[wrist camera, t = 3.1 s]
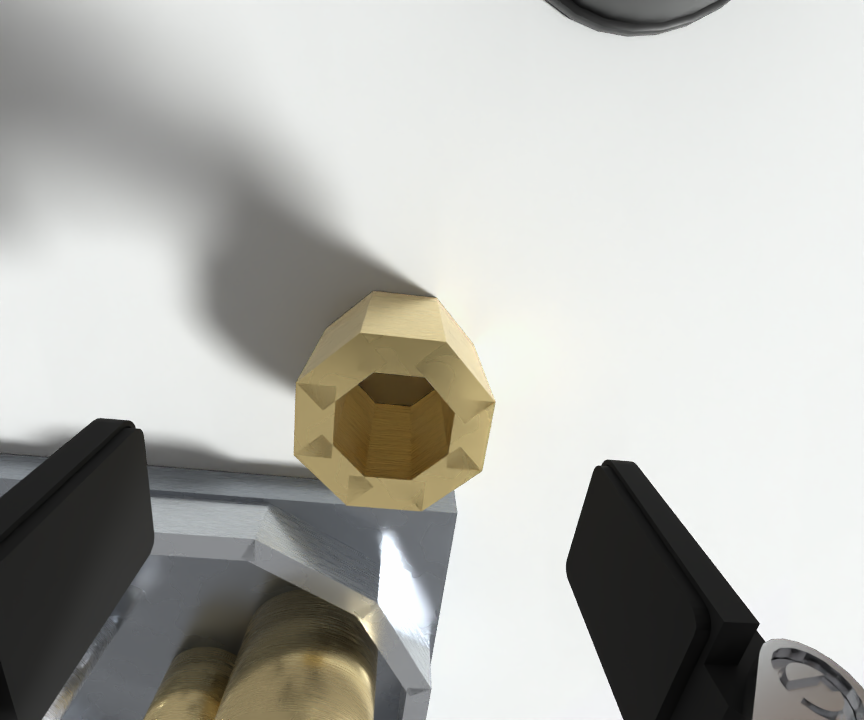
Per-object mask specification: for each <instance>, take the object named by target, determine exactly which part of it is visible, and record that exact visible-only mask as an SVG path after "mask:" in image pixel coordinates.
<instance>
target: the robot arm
mask: <svg viewBox="0 0 864 720" xmlns="http://www.w3.org/2000/svg"><path fill="white" fill-rule="evenodd" d="M153 544H154V526H153V516H152V507H151V498H150V488H149V479H148V470H147V460H146V451H145V442H144V435H143V432H142V430H141V429H136V428H135V425H134V424H133V422H131V421H128V420H116V419H104V418H99V419H96V420H94V421H93V422H91V423H90V424H89V425H88V426H87V427H85V428H84V429H83V430H82V431H80V432H79V433H78V434H77V435H76V436H74V437H73V438H72V439H71V440H70V441H68V442H67V443H66V444H65V445H63V446H62V447H61V448H60V449H59V450H57V451H56V452H55V453H54V454H53V455H51V456H50V457H49V458H48V459H46V460H45V461H44V462H43V463H42V464H40V465H39V466H38V467H37V468H35V469H34V470H33V471H32V472H31V473H29V474H28V475H27V476H26V477H25V478H23V479H22V480H21V481H20V482H18V483H17V484H16V485H15V486H14V487H12V488H11V489H10V490H9V491H8V492H6V493H5V494H4V495H3V496H1V497H0V720H42V719H43V717H44V716H45V714H46V713H47V711H48V710H49V708H50V707H51V705H52V703H53V702H54V700H55V699H56V697H57V696H58V694H59V693H60V691H61V690H62V688H63V687H64V685H65V684H66V682H67V681H68V679H69V677H70V676H71V674H72V673H73V671H74V670H75V668H76V667H77V665H78V664H79V662H80V661H81V659H82V658H83V656H84V654H85V653H86V651H87V650H88V648H89V647H90V645H91V644H92V642H93V641H94V639H95V638H96V636H97V635H98V633H99V632H100V630H101V628H102V627H103V625H104V624H105V622H106V621H107V619H108V618H109V616H110V615H111V613H112V612H113V610H114V609H115V607H116V606H117V604H118V602H119V601H120V599H121V598H122V596H123V595H124V593H125V592H126V590H127V589H128V587H129V586H130V584H131V583H132V581H133V579H134V578H135V576H136V575H137V573H138V572H139V570H140V569H141V567H142V566H143V564H144V563H145V561H146V560H147V558H148V557H149V555H150V553H151V551H152V548H153ZM566 573H567V578H568V581H569V583H570V586H571V588H572V591H573V593H574V596H575V598H576V601H577V603H578V606H579V608H580V611H581V614H582V616H583V619H584V621H585V624H586V626H587V629H588V631H589V634H590V636H591V639H592V641H593V644H594V646H595V649H596V651H597V654H598V657H599V659H600V662H601V664H602V667H603V669H604V672H605V674H606V677H607V679H608V682H609V684H610V687H611V689H612V692H613V695H614V697H615V700H616V702H617V705H618V707H619V710H620V712H621V715H622V717H623V720H864V689H863V687H862V686H861V685H860V684H859V683H858V682H857V681H856V680H855V679H854V678H853V677H852V676H851V675H850V674H849V673H848V672H847V671H846V670H844V669H843V668H842V667H841V666H839V665H838V664H837V663H836V662H834V661H833V660H832V659H830V658H828V657H827V656H825V655H823V654H822V653H820V652H819V651H817V650H815V649H813V648H811V647H808V646H806V645H804V644H802V643H799V642H796V641H791V640H787V639H771V640H769V641H767V642H765V641H764V639H763V638H762V637H761V636H760V634H759V633H758V632H757V628H758V626H759V624H760V623H759V622H758V621H757V619H756V618H755V617H754V616H753V614H752V613H751V612H750V610H749V609H748V608H747V606H746V605H745V604H744V603H743V601H742V600H741V599H740V597H739V596H738V595H737V594H736V592H735V591H734V590H733V588H732V587H731V586H730V585H729V583H728V582H727V581H726V579H725V578H724V577H723V576H722V574H721V573H720V572H719V570H718V569H717V568H716V566H715V565H714V564H713V563H712V561H711V560H710V559H709V557H708V556H707V555H706V554H705V552H704V551H703V550H702V548H701V547H700V546H699V545H698V543H697V542H696V541H695V539H694V538H693V537H692V536H691V534H690V533H689V532H688V530H687V529H686V528H685V526H684V525H683V524H682V523H681V521H680V520H679V519H678V517H677V516H676V515H675V514H674V512H673V511H672V510H671V508H670V507H669V506H668V505H667V503H666V502H665V501H664V499H663V498H662V497H661V496H660V494H659V493H658V492H657V490H656V489H655V488H654V486H653V485H652V484H651V483H650V481H649V480H648V479H647V477H646V476H645V475H644V474H643V472H642V471H641V470H640V468H639V467H638V466H637V465H636V464H635V463H634V462H630V461H618V460H605V461H604V462H603V463H602V465H601V466H596V467H595V469H594V471H593V474H592V477H591V481H590V484H589V487H588V491H587V494H586V497H585V501H584V504H583V507H582V511H581V514H580V517H579V521H578V524H577V528H576V531H575V534H574V538H573V541H572V544H571V548H570V551H569V554H568V558H567V562H566Z"/></svg>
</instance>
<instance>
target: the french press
mask: <svg viewBox="0 0 864 720" xmlns="http://www.w3.org/2000/svg"><path fill="white" fill-rule="evenodd" d="M547 1H548V2H549V3H551V4H552V5H553V6H554V7H556V8H557V9H558V10H560V11H561V12H562V13H564V14H565V15H566V16H568V17H569V18H570V19H572V20H574V21H576V22H579V23H581V24H583V25H585V26H588V27H590V28H592V29H594V30H597V31H600V32H605V33H611V34H616V35H622V36H643V35H657V34H661V33H664V32H668V31H671V30H675V29H678V28H682V27H685V26H687V25H689V24H691V23H693V22H695V21H697V20H699V19H701V18H703V17H705V16H707V15H708V14H710V13H712V12H714V11H716V10H718V9H720V8H721V7H723V6H724V5H725V4H726V3H728V2H729V1H730V0H547Z"/></svg>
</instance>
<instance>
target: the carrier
mask: <svg viewBox="0 0 864 720" xmlns="http://www.w3.org/2000/svg"><path fill="white" fill-rule="evenodd" d="M46 459H48V457H36V456H23V455H11V454H0V497H1V496H3V495H4V494H5V493H6V492H8V491H9V490H10V489H11V488H12V487H14V486H15V485H16V484H17V483H18V482H20V481H21V480H22V479H23V478H25V477H26V476H27V475H28V474H29V473H31V472H32V471H33V470H34V469H35V468H37V467H38V466H39V465H40V464H42V463H43V462H44V461H45V460H46ZM147 470H148V479H149V488H150V498H151V507H152V516H153V526H154V544H153V548H152V551H151V553H150V555H149V557H148V558H147V560H146V561H145V563H144V564H143V566H142V567H141V569H140V570H139V572H138V573H137V575H136V576H135V578H134V579H133V581H132V583H131V584H130V586H129V587H128V589H127V590H126V592H125V593H124V595H123V596H122V598H121V599H120V601H119V602H118V604H117V606H116V607H115V609H114V610H113V612H112V613H111V615H110V616H109V618H108V619H107V621H106V622H105V624H104V625H103V627H102V628H101V630H100V632H99V633H98V635H97V636H96V638H95V639H94V641H93V642H92V644H91V645H90V647H89V648H88V650H87V651H86V653H85V654H84V656H83V658H82V659H81V661H80V662H79V664H78V665H77V667H76V668H75V670H74V671H73V673H72V674H71V676H70V677H69V679H68V681H67V682H66V684H65V685H64V687H63V688H62V690H61V691H60V693H59V694H58V696H57V697H56V699H55V700H54V702H53V703H52V705H51V707H50V708H49V710H48V711H47V713H46V714H45V716H44V717H43V719H42V720H426V715H427V710H428V704H429V699H430V693H431V669H430V664H431V659H432V653H433V647H434V642H435V636H436V630H437V625H438V619H439V613H440V608H441V602H442V597H443V591H444V585H445V580H446V574H447V568H448V563H449V557H450V551H451V546H452V540H453V534H454V529H455V523H456V517H457V508H456V501H455V493H454V490H453V491H452V492H450V493H449V494H447V495H446V496H444V497H443V498H441V499H440V500H438V501H437V502H435V503H434V504H432V505H431V506H429V507H428V508H426V509H425V510H423V511H410V510H397V509H384V508H371V507H358V506H346V505H345V504H344V503H343V502H342V501H341V500H340V499H339V498H338V497H337V496H336V495H335V494H334V493H333V492H332V491H331V490H330V489H329V488H328V487H327V486H326V485H324V484H323V483H322V482H321V481H320V480H319V479H308V478H295V477H283V476H271V475H258V474H246V473H233V472H221V471H209V470H196V469H184V468H172V467H159V466H147Z"/></svg>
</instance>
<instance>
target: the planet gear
mask: <svg viewBox="0 0 864 720" xmlns="http://www.w3.org/2000/svg"><path fill="white" fill-rule="evenodd" d="M374 372H376V373H385V374H395V375H405V376H415V377H425V378H426V380H427V381H428V382H429V383H430V384H431V385H432V387H433V388H434V390H433V391H431V392H430V393H429V394H427V395H426V396H425V397H423V398H422V399H420V400H419V401H418V402H416V403H415V404H413V405H412V406H401V405H391V404H380V403H375V402H374V401H373V400H372V399H371V398H370V397H369V395H368V394H367V393H366V392H365V391H364V390H363V389H362V388H361V387H360V386H359V385H358V384H359V383H360V382H362V381H363V380H364V379H366V378H367V377H368V376H370V375H371V374H372V373H374ZM494 407H495V400H494V397H493V394H492V392H491V389H490V387H489V384H488V381H487V379H486V376H485V373H484V371H483V368H482V365H481V363H480V360H479V357H478V355H477V352H476V349H475V347H474V344H473V343H472V342H471V341H470V339H469V338H468V337H467V336H466V334H465V333H464V332H463V330H462V329H461V328H460V327H459V325H458V324H457V323H456V322H455V320H454V319H453V318H452V317H451V315H450V314H449V313H448V312H447V310H446V309H445V308H444V306H443V305H442V304H441V303H440V301H439V300H438V299H437V298H433V297H424V296H415V295H407V294H398V293H389V292H381V291H372V292H371V293H370V294H369V295H367V296H366V297H365V298H364V299H362V300H361V301H360V302H359V303H357V304H356V305H355V306H354V307H352V308H351V309H350V310H349V311H347V312H346V313H345V314H344V315H342V316H341V317H340V318H339V319H337V320H336V321H335V322H334V323H332V324H331V325H330V326H329V327H327V328H326V329H325V331H324V333H323V334H322V336H321V338H320V340H319V342H318V344H317V345H316V347H315V349H314V351H313V353H312V354H311V356H310V358H309V360H308V362H307V363H306V365H305V367H304V369H303V371H302V373H301V374H300V376H299V378H298V380H297V382H296V396H295V430H294V456H295V457H296V458H297V459H298V460H299V461H300V462H301V463H302V464H304V465H305V466H306V467H307V468H308V469H309V470H310V471H311V472H312V473H313V474H314V475H315V476H316V477H317V478H318V479H319V480H320V481H321V482H322V483H323V484H324V485H326V486H327V487H328V488H329V489H330V490H331V491H332V492H333V493H334V494H335V495H336V496H337V497H338V498H339V499H340V500H341V501H342V502H343V503H344V504H345V505H346V506H358V507H371V508H384V509H397V510H410V511H423V510H425V509H426V508H428V507H429V506H431V505H432V504H434V503H435V502H437V501H438V500H440V499H441V498H443V497H444V496H446V495H447V494H449V493H450V492H452V491H453V490H455V489H456V488H458V487H459V486H461V485H462V484H464V483H465V482H467V481H468V480H470V479H471V478H473V477H474V476H476V475H477V474H479V473H480V472H482V469H483V464H484V459H485V454H486V448H487V443H488V438H489V433H490V428H491V422H492V417H493V412H494Z"/></svg>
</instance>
